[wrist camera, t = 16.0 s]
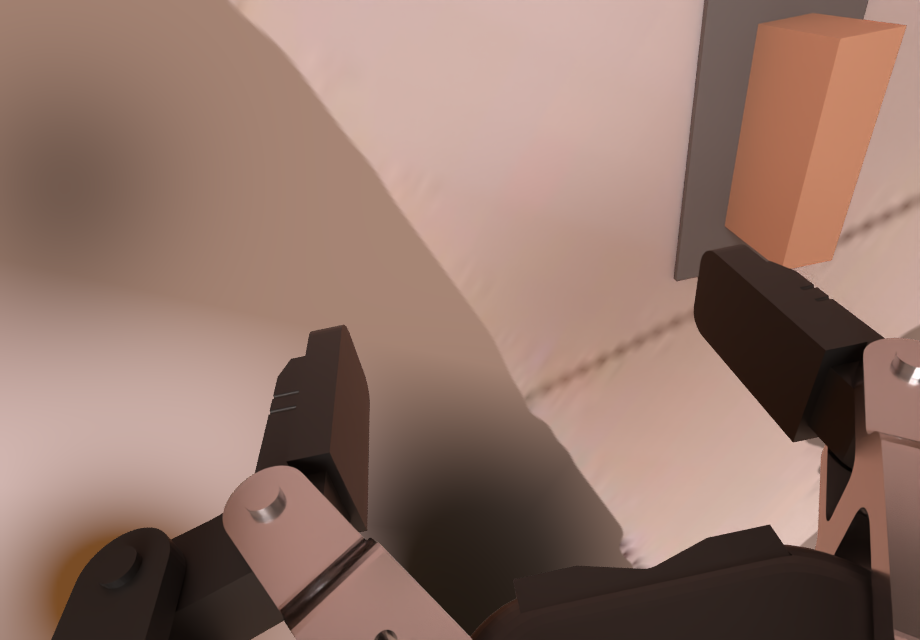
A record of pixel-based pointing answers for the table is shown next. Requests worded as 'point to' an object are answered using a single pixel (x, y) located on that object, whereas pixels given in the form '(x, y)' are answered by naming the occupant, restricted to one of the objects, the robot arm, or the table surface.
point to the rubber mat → (727, 115)
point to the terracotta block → (807, 131)
